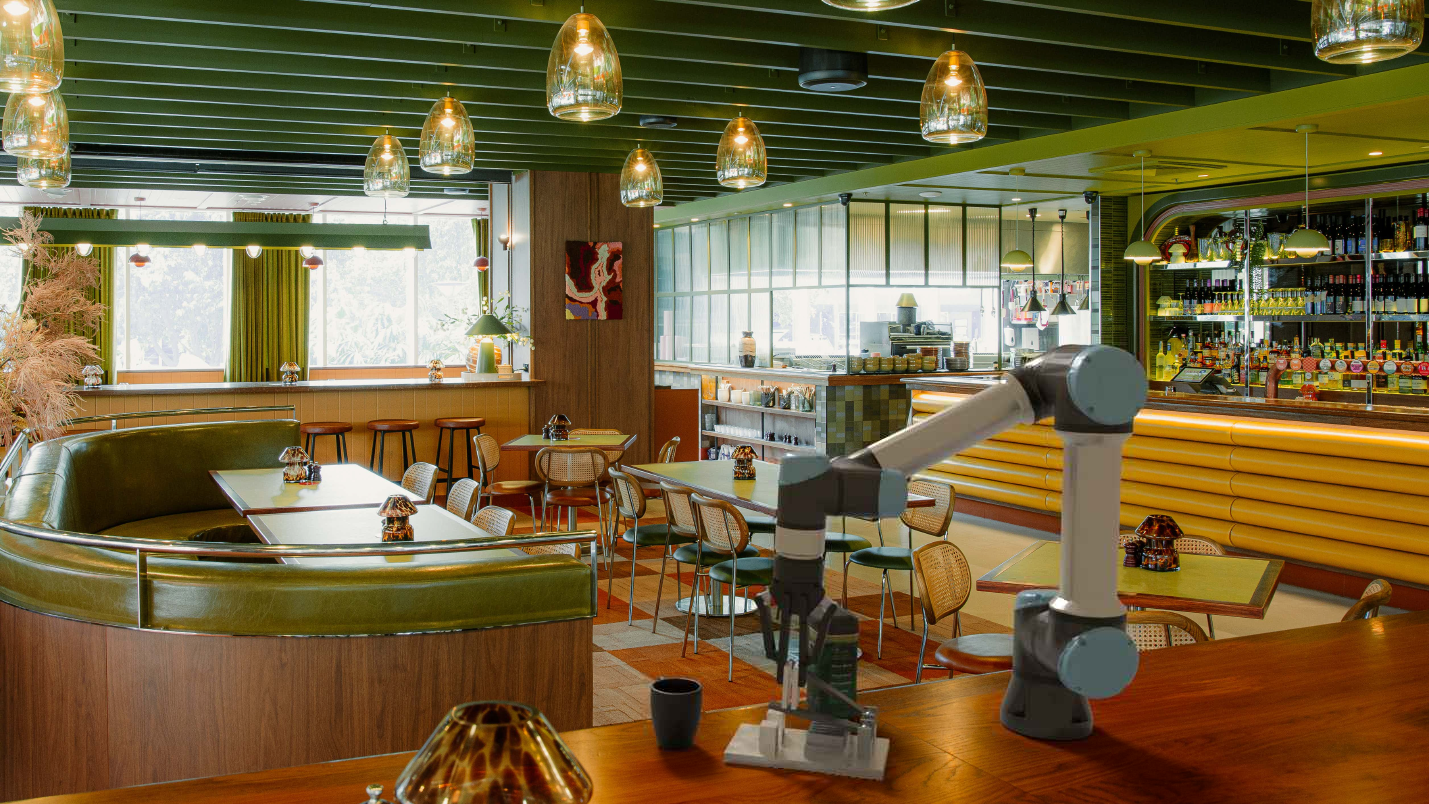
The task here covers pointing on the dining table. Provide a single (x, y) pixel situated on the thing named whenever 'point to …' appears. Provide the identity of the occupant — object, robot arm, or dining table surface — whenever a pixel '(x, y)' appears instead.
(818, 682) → the inner strap
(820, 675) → the coffee jar
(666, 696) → the mug
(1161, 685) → the dining table surface
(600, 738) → the dining table surface
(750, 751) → the board
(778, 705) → the outer strap
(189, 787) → the dining table surface
